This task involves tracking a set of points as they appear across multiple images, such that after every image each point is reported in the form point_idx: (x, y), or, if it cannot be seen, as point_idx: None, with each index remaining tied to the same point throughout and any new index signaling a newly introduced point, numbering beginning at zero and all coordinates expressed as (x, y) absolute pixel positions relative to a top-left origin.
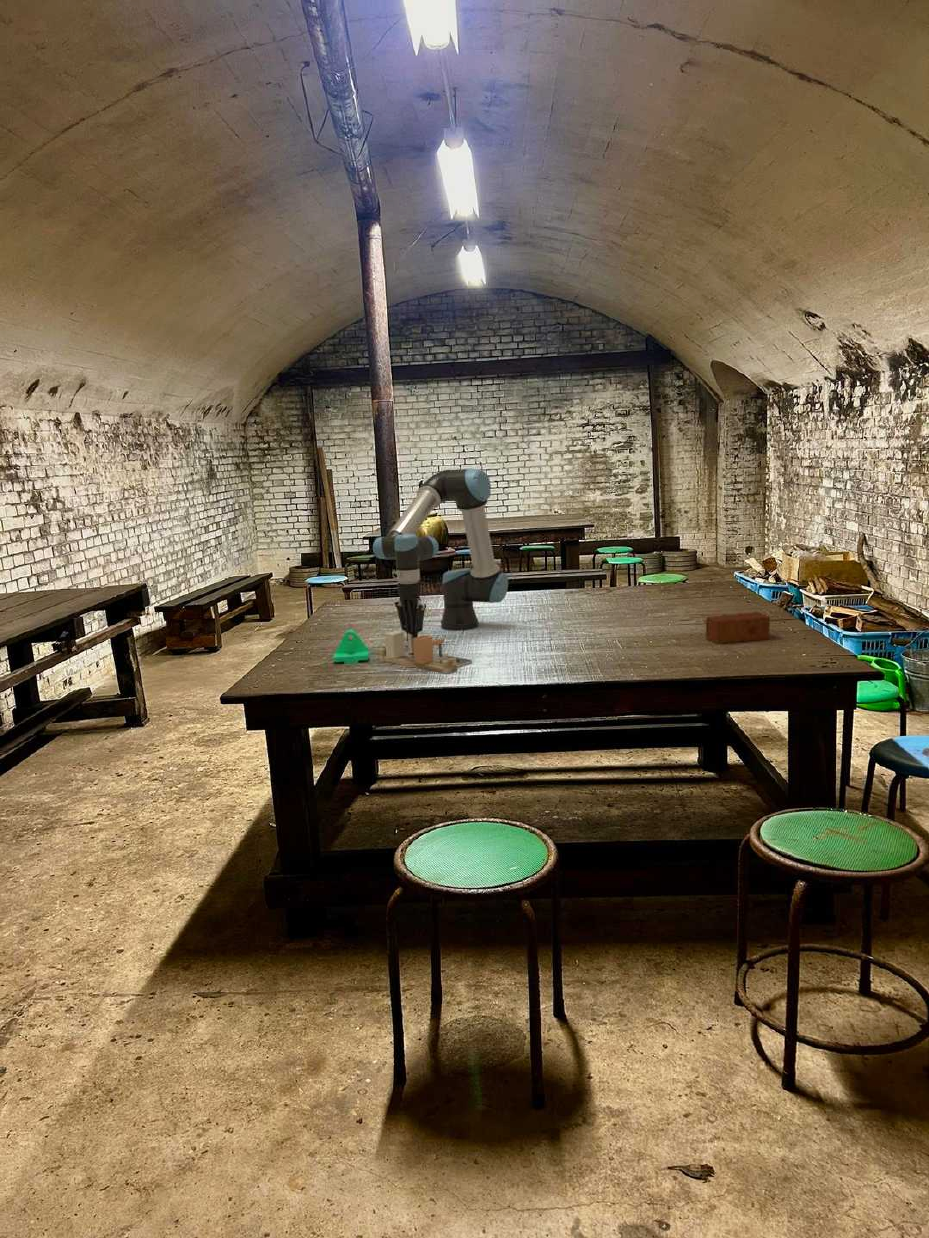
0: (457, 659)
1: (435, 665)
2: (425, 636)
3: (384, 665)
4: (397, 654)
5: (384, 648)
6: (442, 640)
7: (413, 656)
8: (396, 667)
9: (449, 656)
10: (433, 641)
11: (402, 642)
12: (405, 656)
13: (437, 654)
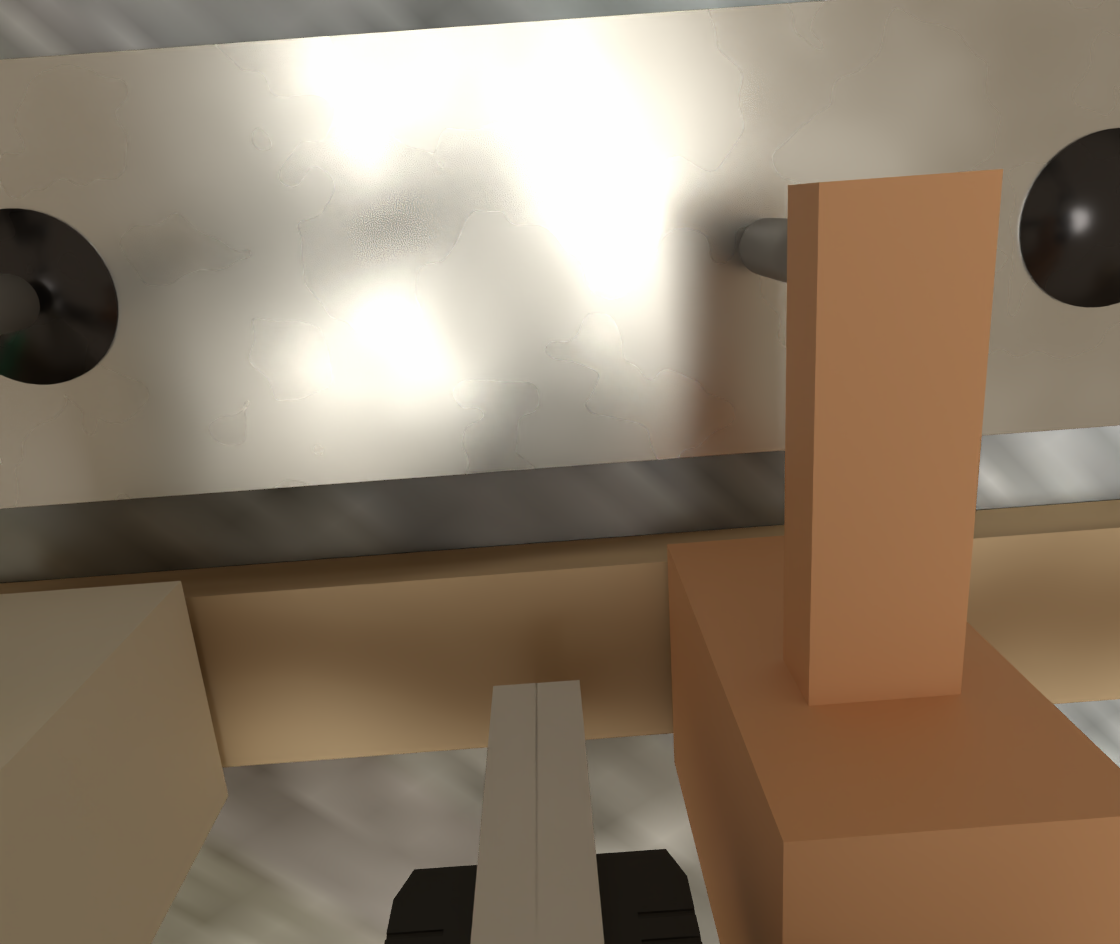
0: (1076, 103)
1: (1041, 648)
2: (955, 901)
3: (212, 863)
4: (195, 772)
5: None
6: (986, 240)
7: (235, 437)
8: (432, 832)
9: (792, 29)
10: (897, 526)
11: (63, 773)
12: (107, 499)
13: (477, 63)
